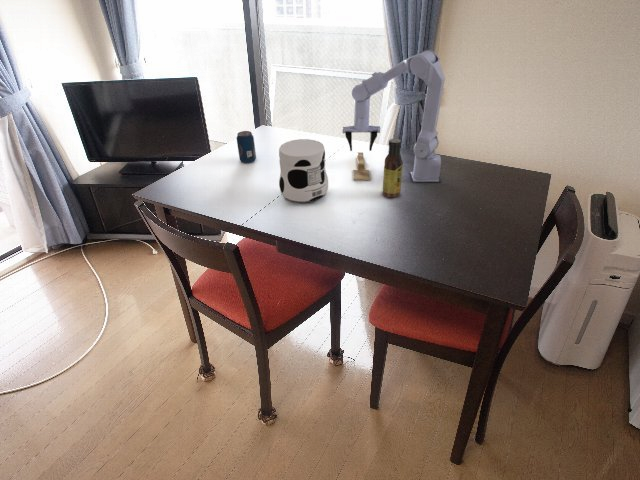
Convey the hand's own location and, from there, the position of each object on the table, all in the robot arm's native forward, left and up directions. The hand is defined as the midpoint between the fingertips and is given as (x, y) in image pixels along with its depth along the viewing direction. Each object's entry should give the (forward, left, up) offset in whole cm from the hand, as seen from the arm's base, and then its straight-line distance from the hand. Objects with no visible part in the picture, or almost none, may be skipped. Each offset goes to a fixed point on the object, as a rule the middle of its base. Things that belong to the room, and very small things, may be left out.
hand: (360, 149), depth 167 cm
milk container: (+21, +26, -6) cm, 34 cm away
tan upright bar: (0, +5, -6) cm, 8 cm away
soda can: (+47, -4, -6) cm, 47 cm away
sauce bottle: (-10, +26, -6) cm, 29 cm away
